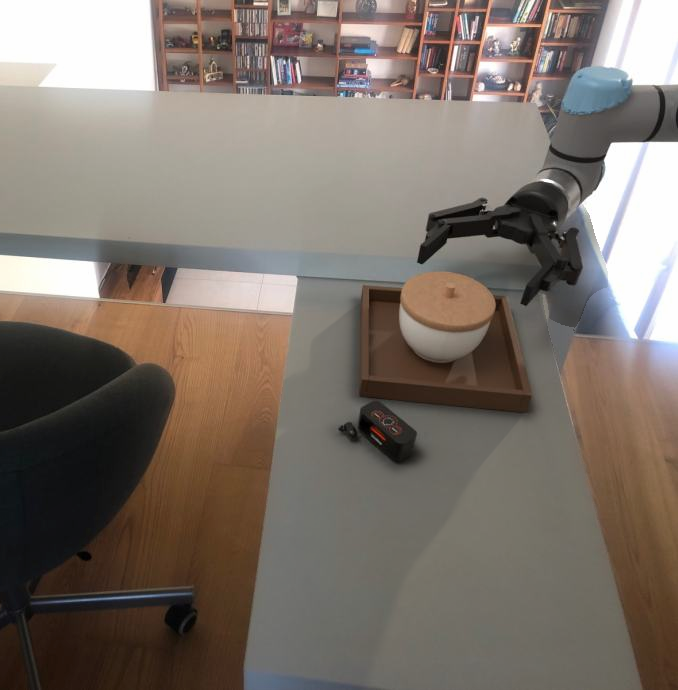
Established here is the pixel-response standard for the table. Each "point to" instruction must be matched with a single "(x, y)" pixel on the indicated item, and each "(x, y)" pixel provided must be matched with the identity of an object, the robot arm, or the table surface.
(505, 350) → the tray
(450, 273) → the trinket box
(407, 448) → the wireless earbuds
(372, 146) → the table surface
